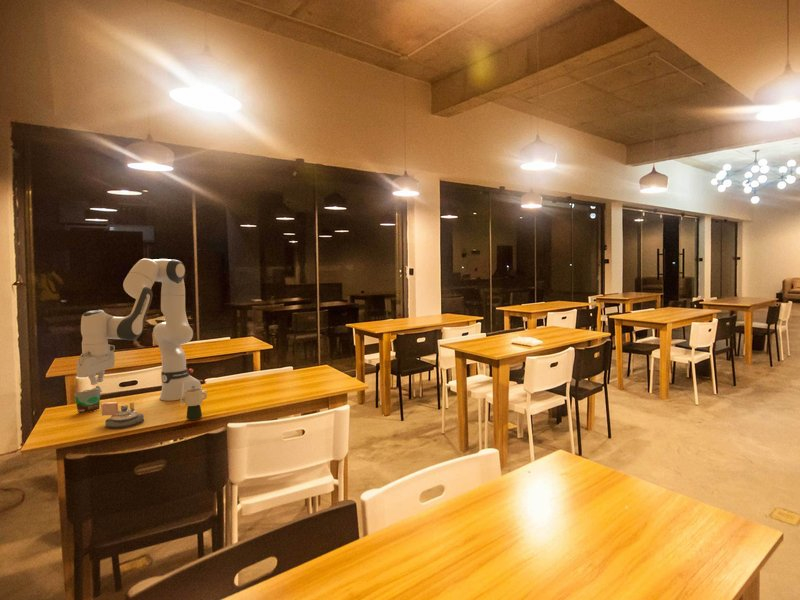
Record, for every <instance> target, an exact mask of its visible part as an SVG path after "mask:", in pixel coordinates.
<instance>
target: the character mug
mask: <svg viewBox="0 0 800 600" xmlns="http://www.w3.org/2000/svg"><path fill="white" fill-rule="evenodd" d="M201 388H202V387H201ZM201 388H191V389H187V390H185V395H183V396H180V400H179V403H180V404H184V405H185V406H187V410H186V419H187V420H192V421H194V420H199V419H201V418H202V417H203V413H202V407H201V405H202V403H203V400H206V399H207V398H208V396H207V395H208V394H207V393H208V392H207V391H206V392H202V389H201ZM203 396H204V397H203ZM182 398H185V399H184V400H182Z"/></svg>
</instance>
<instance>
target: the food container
mask: <svg viewBox="0 0 800 600" xmlns="http://www.w3.org/2000/svg"><path fill="white" fill-rule="evenodd" d="M101 393H102V388H101V387H100V386H99V385H96V386H95V388H92V389H86V390H84V391H79V392H77V391H76V392H74V394H73V398H75V403H76V410H77V413H78V412H79V413H78V414H81V413H80V412H83V413H82V414H85V413H84V412H88V413H91V412H90V411H92V412H95V411H94V410H96V411H98V410H99V409H100V405H101V404H100V402H101V401H100V400H101ZM97 409H98V410H97Z"/></svg>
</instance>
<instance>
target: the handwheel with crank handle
mask: <svg viewBox="0 0 800 600" xmlns="http://www.w3.org/2000/svg"><path fill="white" fill-rule="evenodd" d="M128 409H131V411H135V403H134V402H129V408H128V405H127V404H123V405H121V406H120V410H121V411H126V410H128ZM144 420H145V415H144V414H143V413H139V412H138V417H136V418H134V419H131V420H127V421H120V422H115V421H112V420H111V417H109V418H107V419H106V420H105V425H104V426H105V428H107V429H111V430H117V429H118V430H119V429H125V428H131V427H135V426H138V425H140V424H142V423H144Z"/></svg>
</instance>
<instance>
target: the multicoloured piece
mask: <svg viewBox="0 0 800 600" xmlns="http://www.w3.org/2000/svg"><path fill="white" fill-rule="evenodd" d="M118 403H119V402H117V401H115V402H114V401H113V402H112V401H111V402H101V404H100V405H101V416H111V417H110V418H111V420H112V421H115V422H120V421H127V420H131V419H134V418H136V417H138V413H139V412H138V411H137V410H134V411H131V409H130V408H128V410H126V411H121V409H120V410H119V406H118Z"/></svg>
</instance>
